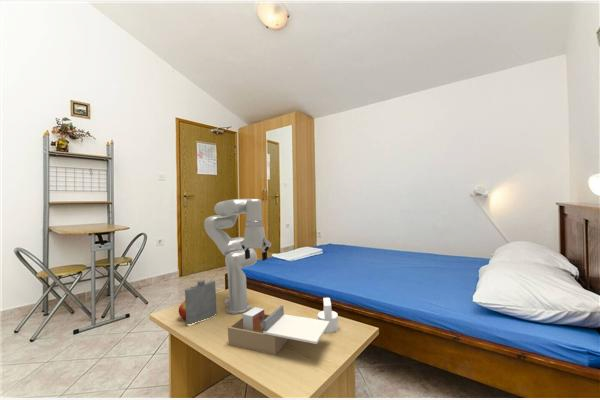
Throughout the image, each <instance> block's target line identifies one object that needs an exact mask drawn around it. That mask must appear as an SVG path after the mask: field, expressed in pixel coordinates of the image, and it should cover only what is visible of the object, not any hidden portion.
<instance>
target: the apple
mask: <svg viewBox="0 0 600 400" xmlns="http://www.w3.org/2000/svg"><path fill="white" fill-rule="evenodd" d="M178 315H179V316H180V318H181V319H183V318H186V302H185V301H183V302H181V304H180V305H179V307H178Z"/></svg>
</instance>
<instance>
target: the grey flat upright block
mask: <svg viewBox="0 0 600 400" xmlns="http://www.w3.org/2000/svg"><path fill="white" fill-rule="evenodd" d="M196 282H197V283H196V284H195V285H192V286H190V287H187V288H184V298H185V299H184V300H185V302H186V319H185V321H186V325H187V324H192V323H195V322H198V321H201V320H204V319H207V318H210V317H212V316H214V315H215V314H217V315H218V312H217V309H218V308H217V295H216V293H217V291H216V281H215V280H209V281H207V282H206V280H205V279H198V280H196ZM215 316H216V315H215ZM215 316H214V317H215ZM212 318H213V317H212ZM210 319H211V318H210Z"/></svg>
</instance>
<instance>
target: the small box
mask: <svg viewBox="0 0 600 400" xmlns="http://www.w3.org/2000/svg"><path fill="white" fill-rule="evenodd" d="M264 314H265V309H264V308H261V307H256V306H254V307H253V308H250V309H249V310H248V311H246V312H243V314H242V317H243V329H244V330H249V331H254V332H259V333H263V331H264V325H263V321H264V320H265V316H264Z"/></svg>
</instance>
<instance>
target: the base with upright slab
mask: <svg viewBox="0 0 600 400" xmlns="http://www.w3.org/2000/svg"><path fill="white" fill-rule="evenodd" d="M322 300H323V303H322V304H323V310H322V311H319V312H318V313H317V319H318V320H324V321H330V323H329V325H328V327H327V328H326V330H325V331H324V333H323V334H325V333H326V334H330V333H331V334H332V333H335V332H337V331H339V319H338V318H339V317H338V312H336V311H334V310H333V309H332V302H331V298H330V297H323V299H322Z"/></svg>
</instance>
